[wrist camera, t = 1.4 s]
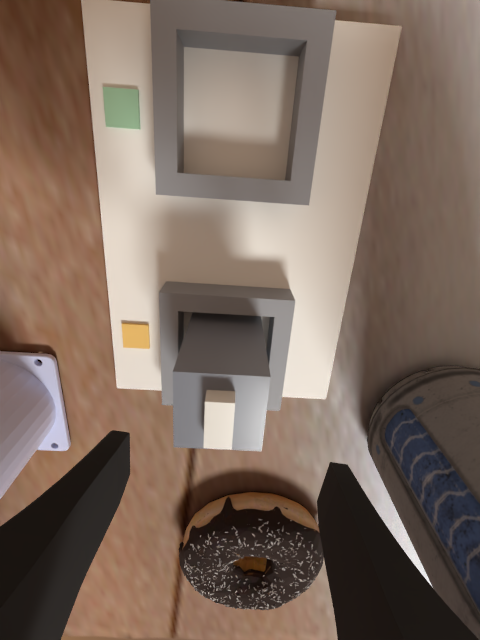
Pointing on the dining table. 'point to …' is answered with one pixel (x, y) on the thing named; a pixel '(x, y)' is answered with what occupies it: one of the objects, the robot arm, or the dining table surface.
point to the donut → (251, 551)
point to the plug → (221, 383)
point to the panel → (232, 175)
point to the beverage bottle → (436, 476)
